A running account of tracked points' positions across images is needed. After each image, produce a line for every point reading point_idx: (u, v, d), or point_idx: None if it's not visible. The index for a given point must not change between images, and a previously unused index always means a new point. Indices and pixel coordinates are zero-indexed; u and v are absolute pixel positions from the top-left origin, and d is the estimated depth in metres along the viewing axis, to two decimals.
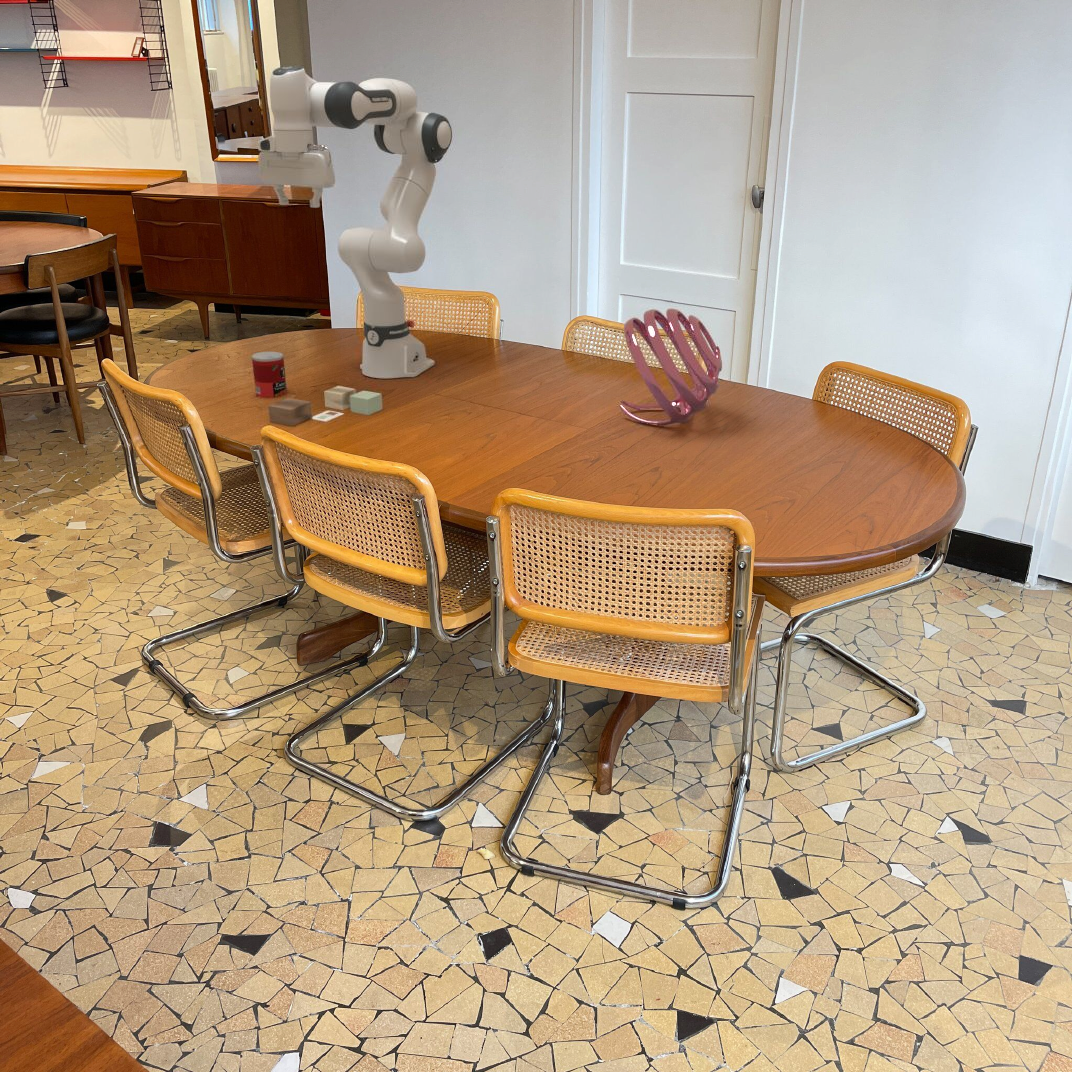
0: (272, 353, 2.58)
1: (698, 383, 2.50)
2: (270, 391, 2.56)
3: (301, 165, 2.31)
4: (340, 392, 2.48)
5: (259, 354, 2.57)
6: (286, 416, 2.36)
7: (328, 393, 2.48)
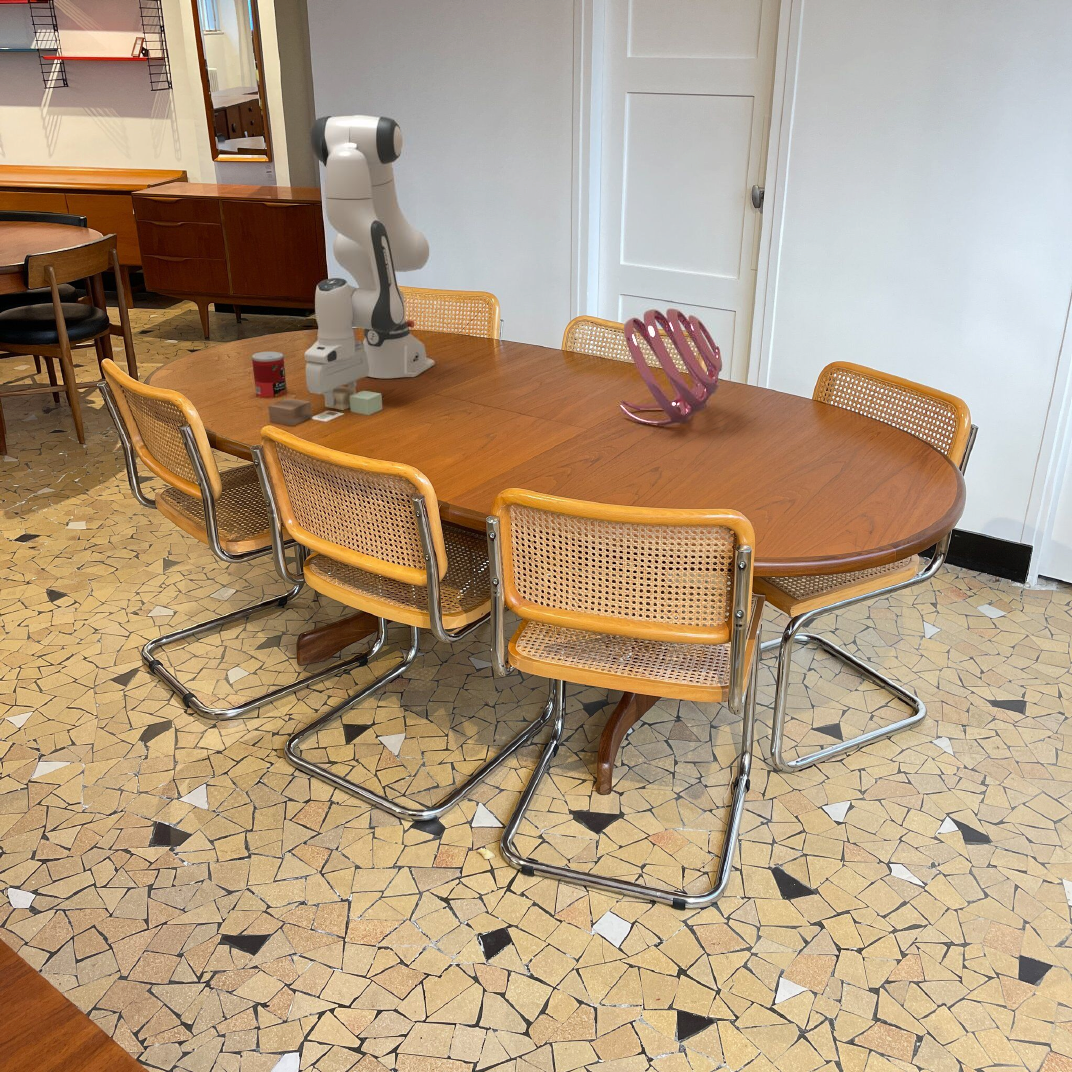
0: (272, 353, 2.58)
1: (698, 383, 2.50)
2: (270, 391, 2.56)
3: (351, 364, 2.49)
4: (340, 392, 2.48)
5: (259, 354, 2.57)
6: (286, 416, 2.36)
7: None
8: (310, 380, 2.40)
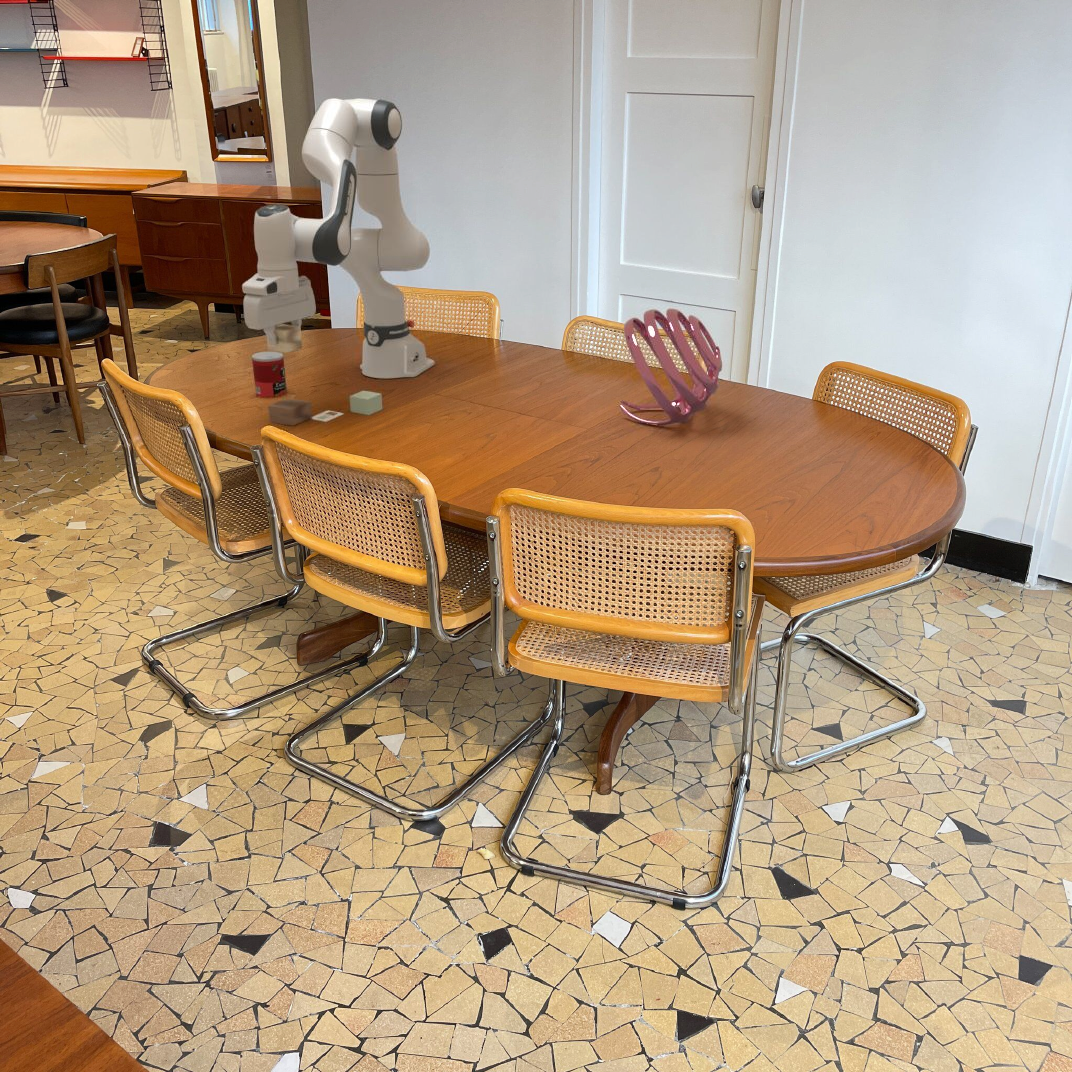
0: (272, 353, 2.58)
1: (698, 383, 2.50)
2: (270, 391, 2.56)
3: (294, 300, 2.31)
4: (283, 329, 2.29)
5: (259, 354, 2.57)
6: (286, 416, 2.36)
7: None
8: (249, 313, 2.21)
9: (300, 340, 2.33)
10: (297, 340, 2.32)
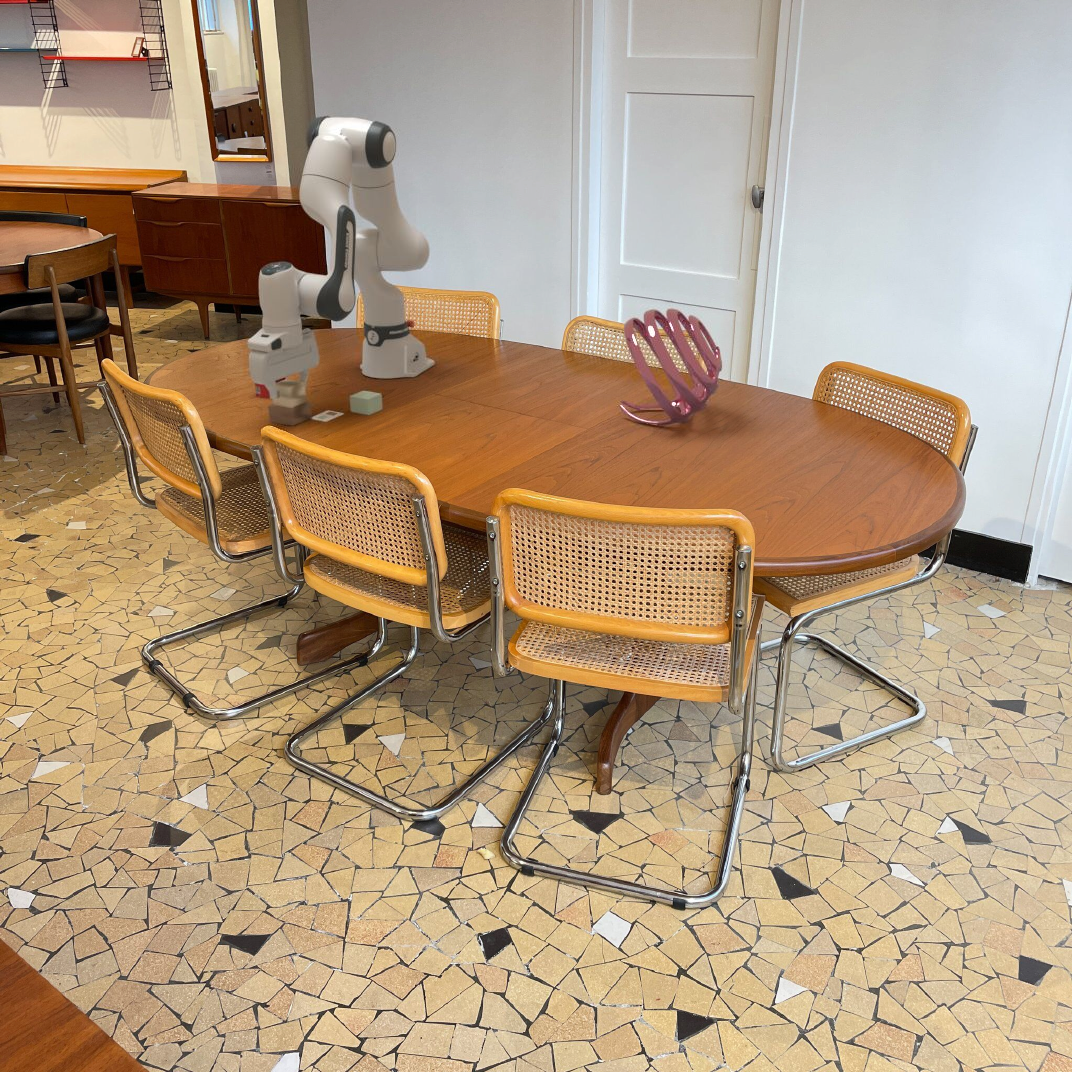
0: None
1: (698, 383, 2.50)
2: None
3: (298, 353, 2.36)
4: (287, 385, 2.35)
5: None
6: (286, 416, 2.36)
7: None
8: (254, 369, 2.27)
9: (304, 395, 2.39)
10: (301, 395, 2.38)
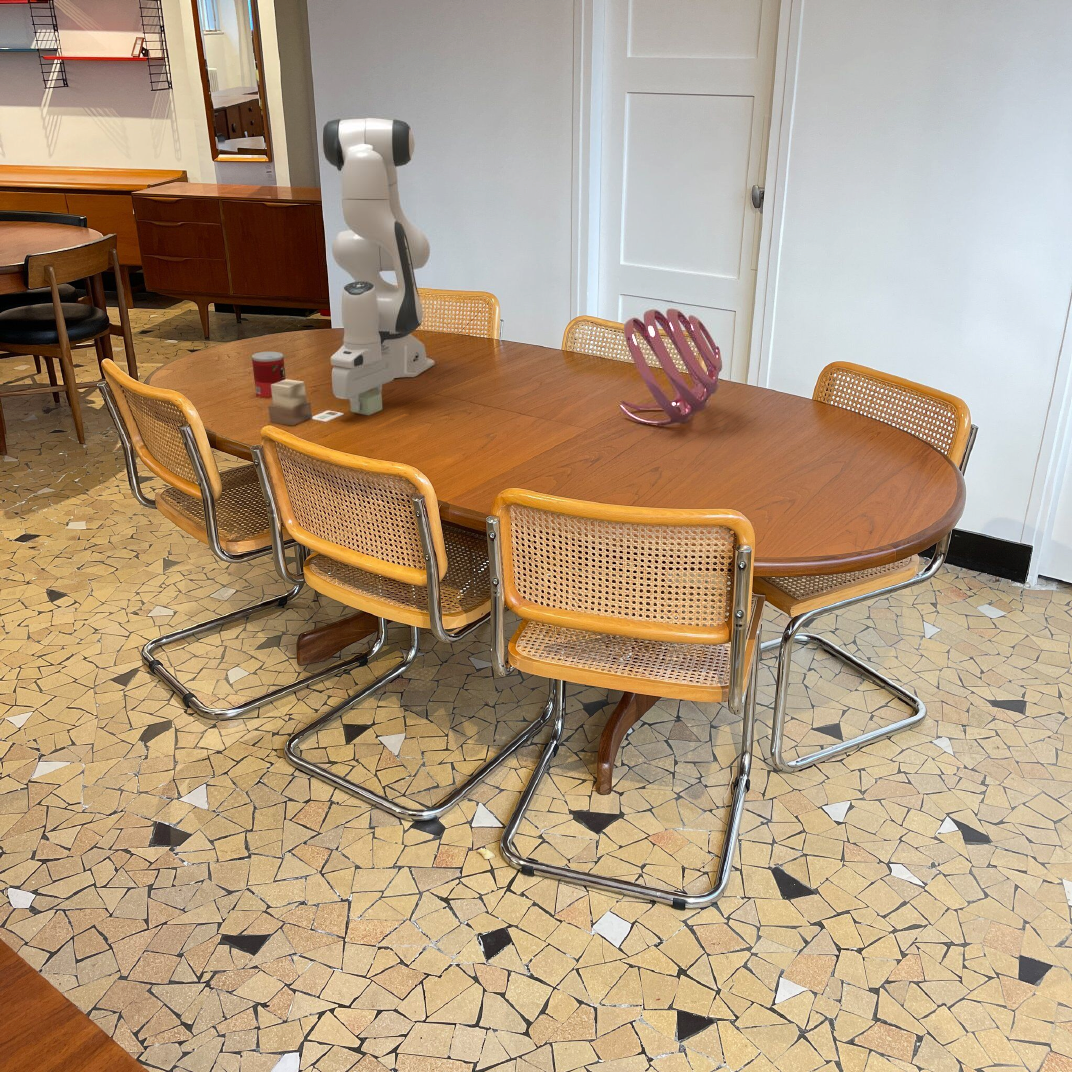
0: (272, 353, 2.58)
1: (698, 383, 2.50)
2: (270, 391, 2.56)
3: (376, 368, 2.45)
4: (287, 385, 2.35)
5: (259, 354, 2.57)
6: (286, 416, 2.36)
7: (274, 387, 2.36)
8: (337, 385, 2.36)
9: (304, 395, 2.39)
10: (301, 395, 2.38)
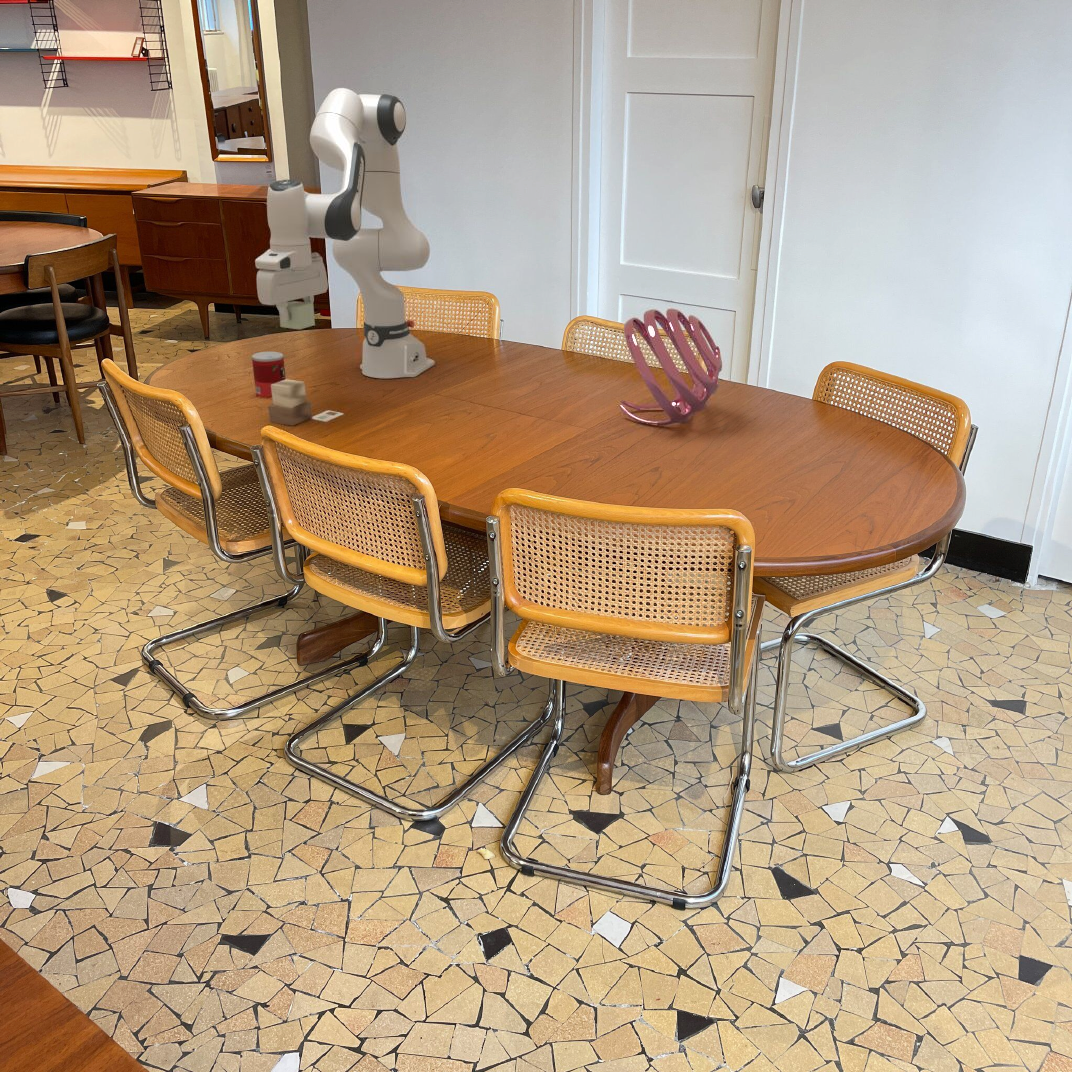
0: (272, 353, 2.58)
1: (698, 383, 2.50)
2: (270, 391, 2.56)
3: (307, 276, 2.29)
4: (287, 385, 2.35)
5: (259, 354, 2.57)
6: (286, 416, 2.36)
7: (274, 387, 2.36)
8: (262, 289, 2.20)
9: (304, 395, 2.39)
10: (301, 395, 2.38)
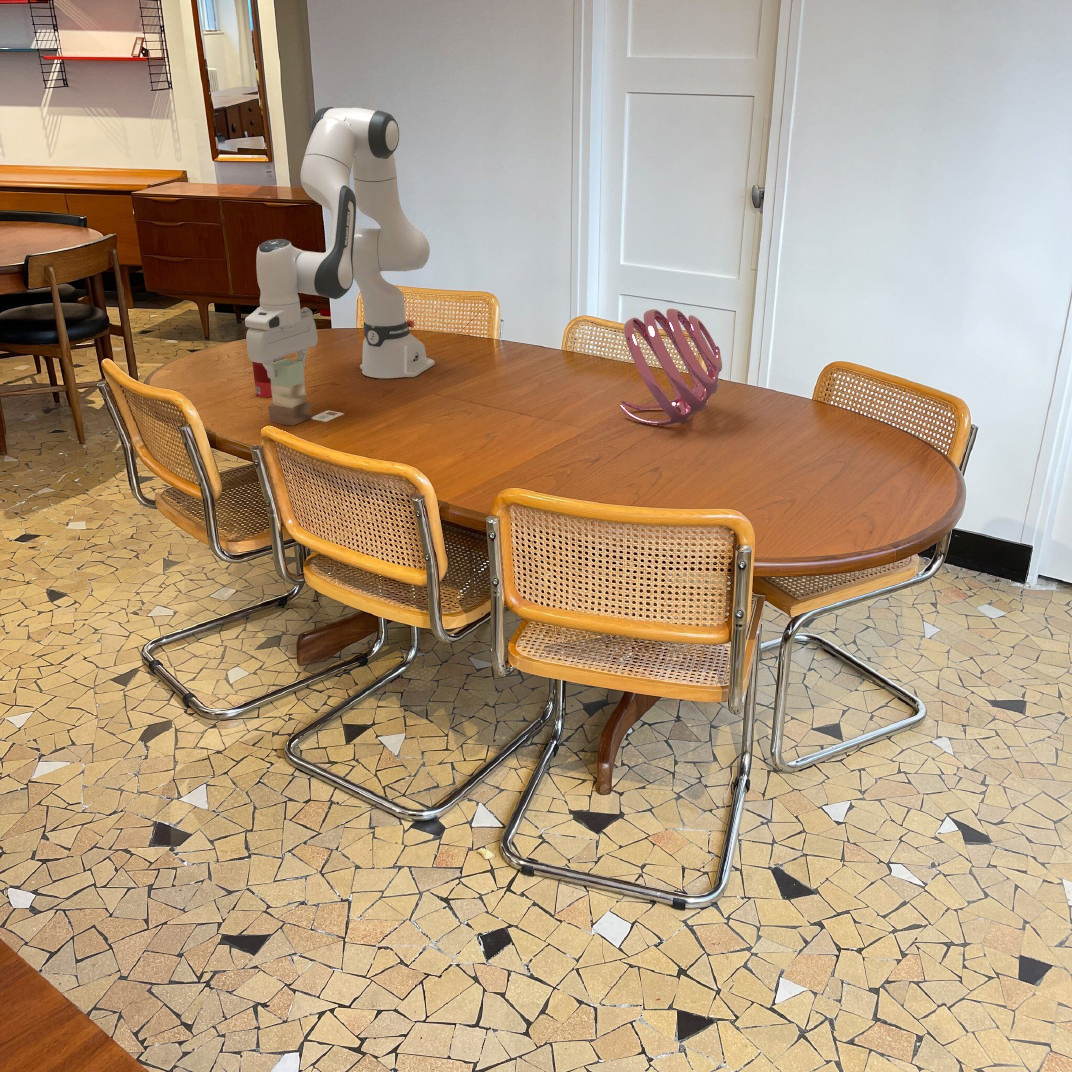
0: None
1: (698, 383, 2.50)
2: (270, 391, 2.56)
3: (296, 332, 2.34)
4: None
5: None
6: (286, 416, 2.36)
7: (274, 387, 2.36)
8: (251, 347, 2.25)
9: (304, 395, 2.39)
10: (301, 395, 2.38)
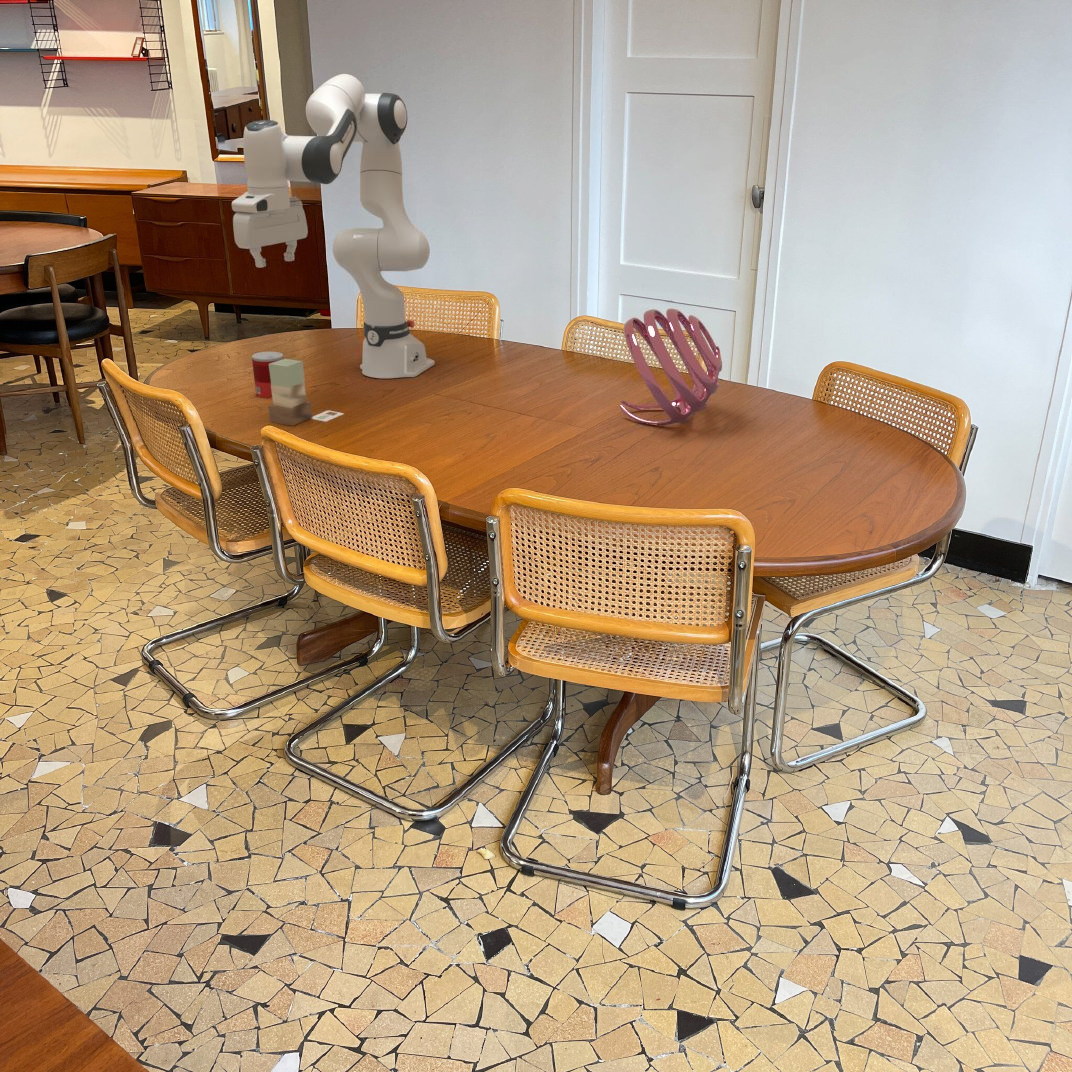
0: (272, 353, 2.58)
1: (698, 383, 2.50)
2: (270, 391, 2.56)
3: (285, 220, 2.26)
4: None
5: (259, 354, 2.57)
6: (286, 416, 2.36)
7: (274, 387, 2.36)
8: (238, 232, 2.17)
9: (304, 395, 2.39)
10: (301, 395, 2.38)
